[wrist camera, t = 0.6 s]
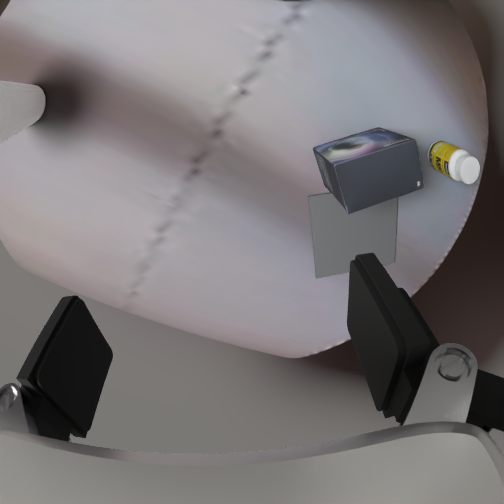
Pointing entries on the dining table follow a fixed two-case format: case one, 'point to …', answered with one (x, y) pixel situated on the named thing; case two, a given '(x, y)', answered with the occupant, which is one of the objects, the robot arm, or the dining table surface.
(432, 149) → the supplement bottle
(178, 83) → the dining table surface
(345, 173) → the small box
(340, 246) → the mat
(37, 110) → the cup
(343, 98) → the dining table surface
